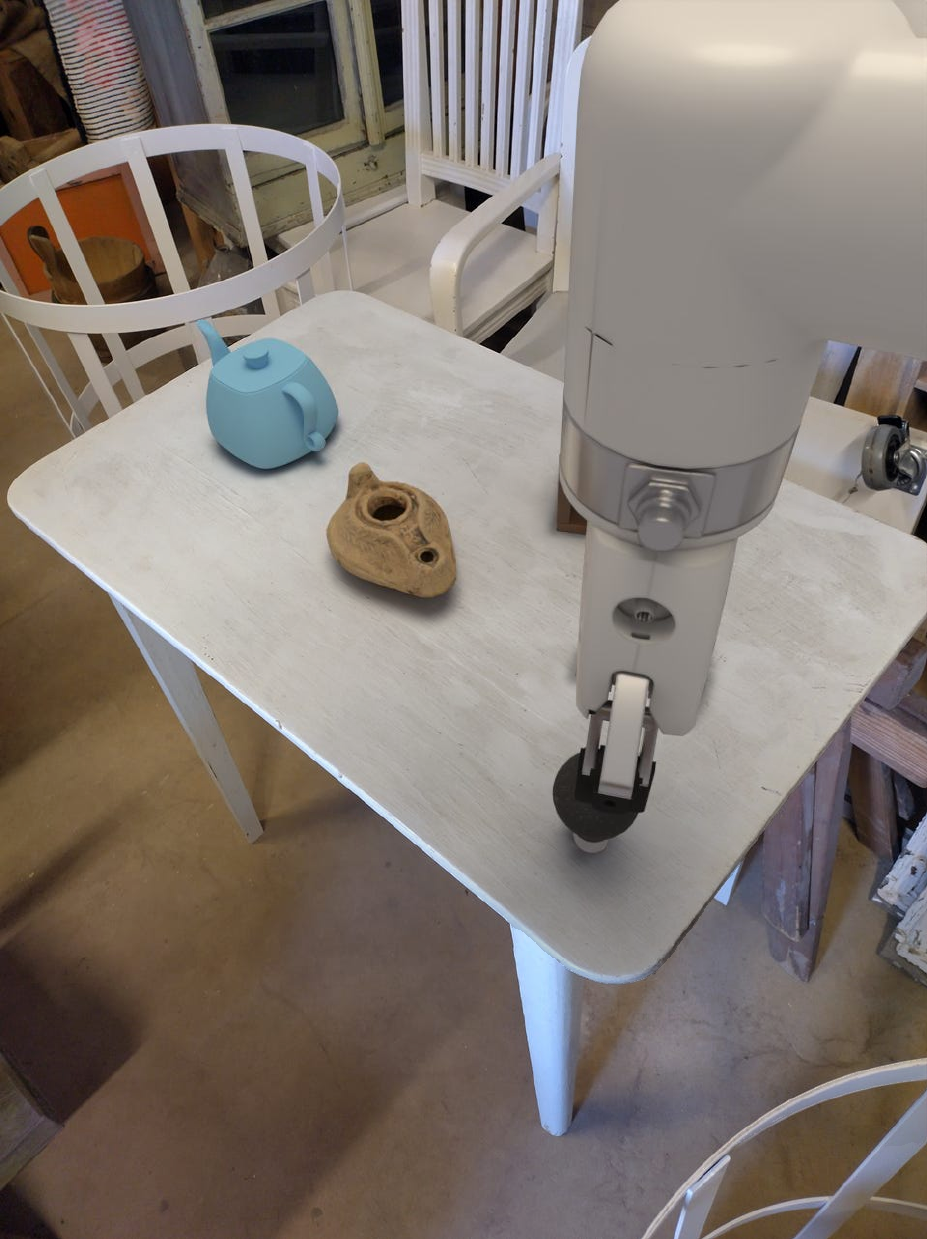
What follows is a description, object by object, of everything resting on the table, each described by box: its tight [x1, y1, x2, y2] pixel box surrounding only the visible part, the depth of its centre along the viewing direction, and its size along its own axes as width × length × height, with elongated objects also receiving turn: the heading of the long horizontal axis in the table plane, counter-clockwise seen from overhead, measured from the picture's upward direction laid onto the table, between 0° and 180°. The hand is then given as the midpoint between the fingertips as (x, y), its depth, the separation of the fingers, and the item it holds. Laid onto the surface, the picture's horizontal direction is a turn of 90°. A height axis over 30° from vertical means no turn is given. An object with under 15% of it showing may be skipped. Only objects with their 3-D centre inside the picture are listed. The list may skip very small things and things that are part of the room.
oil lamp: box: [325, 461, 457, 598], centre depth 72 cm, size 11×15×8 cm
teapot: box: [196, 319, 339, 470], centre depth 85 cm, size 13×11×18 cm
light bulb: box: [552, 752, 640, 854], centre depth 53 cm, size 6×6×10 cm
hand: (622, 714), depth 41 cm, fingers open, 9 cm apart
